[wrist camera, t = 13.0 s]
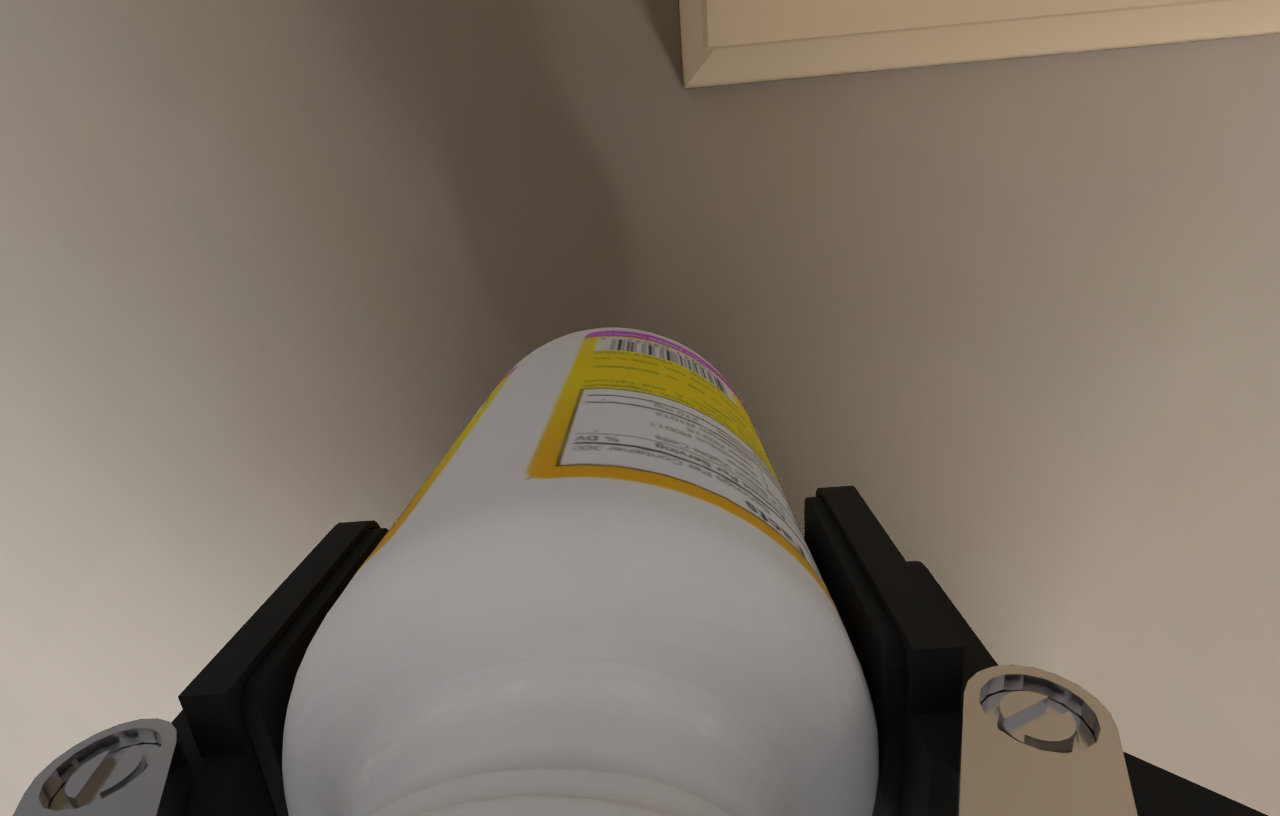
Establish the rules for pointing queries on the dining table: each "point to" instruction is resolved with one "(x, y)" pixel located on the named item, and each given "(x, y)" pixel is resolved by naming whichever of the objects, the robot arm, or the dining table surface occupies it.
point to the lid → (880, 16)
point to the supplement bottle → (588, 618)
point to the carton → (967, 41)
